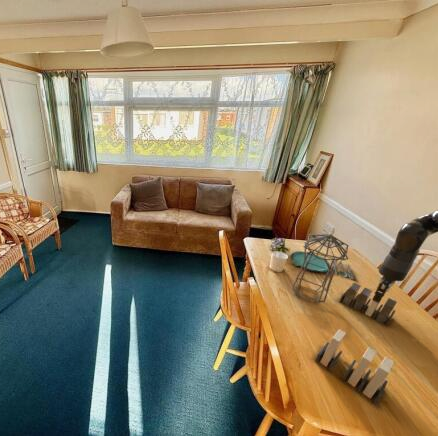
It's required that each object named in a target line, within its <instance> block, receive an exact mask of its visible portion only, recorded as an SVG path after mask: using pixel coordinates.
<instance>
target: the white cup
mask: <svg viewBox="0 0 438 436" xmlns="http://www.w3.org/2000/svg"><path fill="white" fill-rule="evenodd" d="M288 259H289V255H288V254H286V253H283V252H281V251H280V252H279V251H275V250H274V251H272V252H271V256H270V262H269V269H271V270H272V271H274V272H276V273H282V272H283V271H284V268H285V267H286V264H287V261H288Z"/></svg>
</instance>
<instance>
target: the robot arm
mask: <svg viewBox="0 0 438 436" xmlns="http://www.w3.org/2000/svg"><path fill="white" fill-rule="evenodd" d="M436 233H438V209H437V210H435V211H433V212H430V213H428V214H427V213H426V214H425V215H422V216H419V217H416V218H414V219H411V220H410V221H408V222H406V223H405V224H403V225H402V226H400V229H399V231H398V232H397V235H396V238H395V241H394V244H393V245H392V247H391V248H390V250H389V252H388V254H387V255H386V256H385V258H384V260H383V261H382V263H381V265H380V267H379V269H378V273H379V274H380V275H381V278H380V279H379V283H378V284H377V286H376V290H375V291H374V295H373V297H372V299H371V301H372V300H373V301H375V302H378V303H379V302H380V303H381V301H382V299H383V297H384V296H385V295H386V294H387V293H389V291H390V289H391V288H392V287H393V286H394V285H395V283H396V282H403V281H405V279H406V277H407V275H408V274H409V272H410V271H411V269H412V267H413V265H414V262H415V260H416V259H417V257H418V255H419V254H420V251H421V247H422V245H423V244H424V243H425V241H426V240H427V239H428V237H430V236H431V235H433V234H436ZM378 291H380V292H378ZM381 292H382V293H381ZM380 300H381V301H380ZM380 303H379V304H380Z"/></svg>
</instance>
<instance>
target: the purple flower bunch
mask: <svg viewBox="0 0 438 436" xmlns="http://www.w3.org/2000/svg"><path fill="white" fill-rule="evenodd" d="M270 242H271V244H270V250H274V249H275V250H276V251H279V252H283V253H285V254H286V253H287V252H290V251H291V248H288V247H286V238H282V237H279V238H278V237H274V238H271V240H270Z"/></svg>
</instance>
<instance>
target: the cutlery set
mask: <svg viewBox="0 0 438 436" xmlns="http://www.w3.org/2000/svg"><path fill="white" fill-rule="evenodd" d="M304 253H305V251H301V250H300V251H293V252H292V253H291V255H290V260H292V264H293V265H294V266H295V267H298V266H299V267H300V268H301V267H302V265H303V262H304ZM311 254H312V253H309V254H308V257H307V259H306V260H307V262H308V260H309V258H310V256H311ZM317 257H319V258H323V259H324V257H323V256H322V255H318V256H317ZM315 258H316V257H315V256H314V255H312V257H311V259H310V262H309V263H312V264H315V265H318V266H321V267H324V268H327V269H328V267H327V264H326V262H325V260H322V259H318V258H317V259H315ZM313 259H315V260H313ZM311 260H312V261H311ZM326 261H327V263H328V266H329V267H330V265H331V264H330V263H329V260H326ZM307 262H305V264H304V266H303V269H304V268H305V266H306V263H307ZM339 263H340V262H339ZM312 264H308V266H307V268H306V270H308V271H311V272H316V273H317V272H318V273H327V272H328V270H327V269H324V268H321V267H318V266H315V265H312ZM334 264H335V261H334V262H333V265H334ZM339 266H340V269H341V271H339V275H340V276H341V277H342V278H347V277H349V279H350V280H354V274H353V273H352V272H351V268H350V264H347V266H346V267H347V270H348V271H347V272H348V273H346V272H345V271H344V270H343V269H344V268H343V263H342V262H341V263H340V264H339ZM336 267H337V266H336ZM336 267H335V268H336ZM334 274H335V275H336V276H338V272H337V268H336V269H335V272H334Z"/></svg>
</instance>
